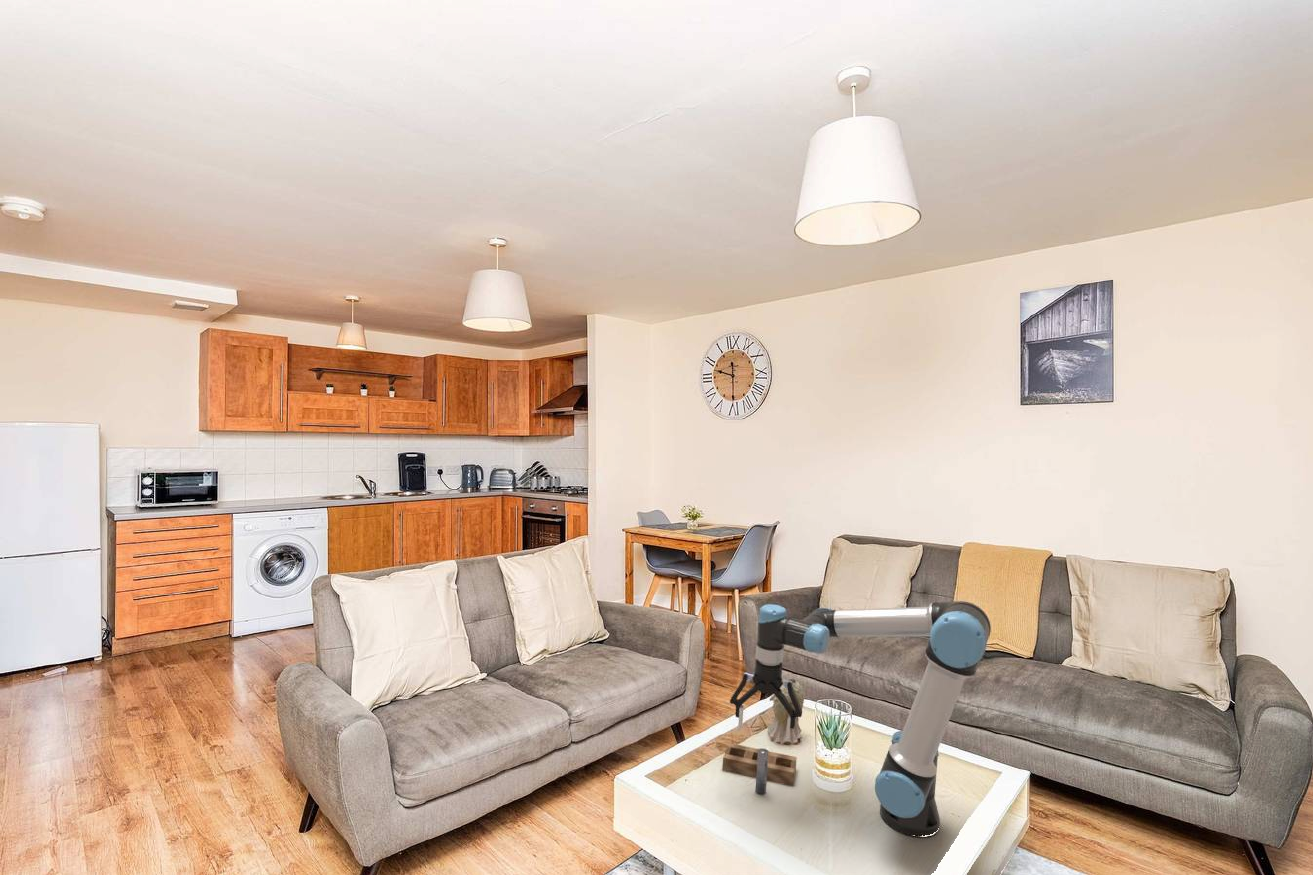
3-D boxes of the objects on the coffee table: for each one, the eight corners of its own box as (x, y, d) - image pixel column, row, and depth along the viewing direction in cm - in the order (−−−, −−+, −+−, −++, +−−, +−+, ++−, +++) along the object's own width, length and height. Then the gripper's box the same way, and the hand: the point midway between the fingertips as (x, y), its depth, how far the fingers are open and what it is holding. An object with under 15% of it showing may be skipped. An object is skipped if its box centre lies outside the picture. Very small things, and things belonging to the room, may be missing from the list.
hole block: (795, 769, 197) (796, 757, 196) (792, 785, 188) (793, 772, 188) (727, 755, 203) (728, 742, 203) (722, 770, 194) (723, 757, 194)
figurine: (769, 725, 224) (773, 668, 222) (803, 732, 220) (807, 675, 219) (763, 741, 212) (767, 682, 211) (799, 749, 208) (804, 689, 207)
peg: (766, 790, 185) (769, 749, 185) (765, 796, 183) (767, 754, 182) (756, 787, 186) (758, 747, 186) (754, 793, 183) (757, 752, 183)
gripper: (815, 663, 182) (809, 736, 183) (728, 648, 190) (723, 718, 191) (813, 673, 175) (807, 749, 176) (723, 657, 182) (718, 730, 184)
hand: (763, 733), depth 184 cm, fingers open, 13 cm apart
